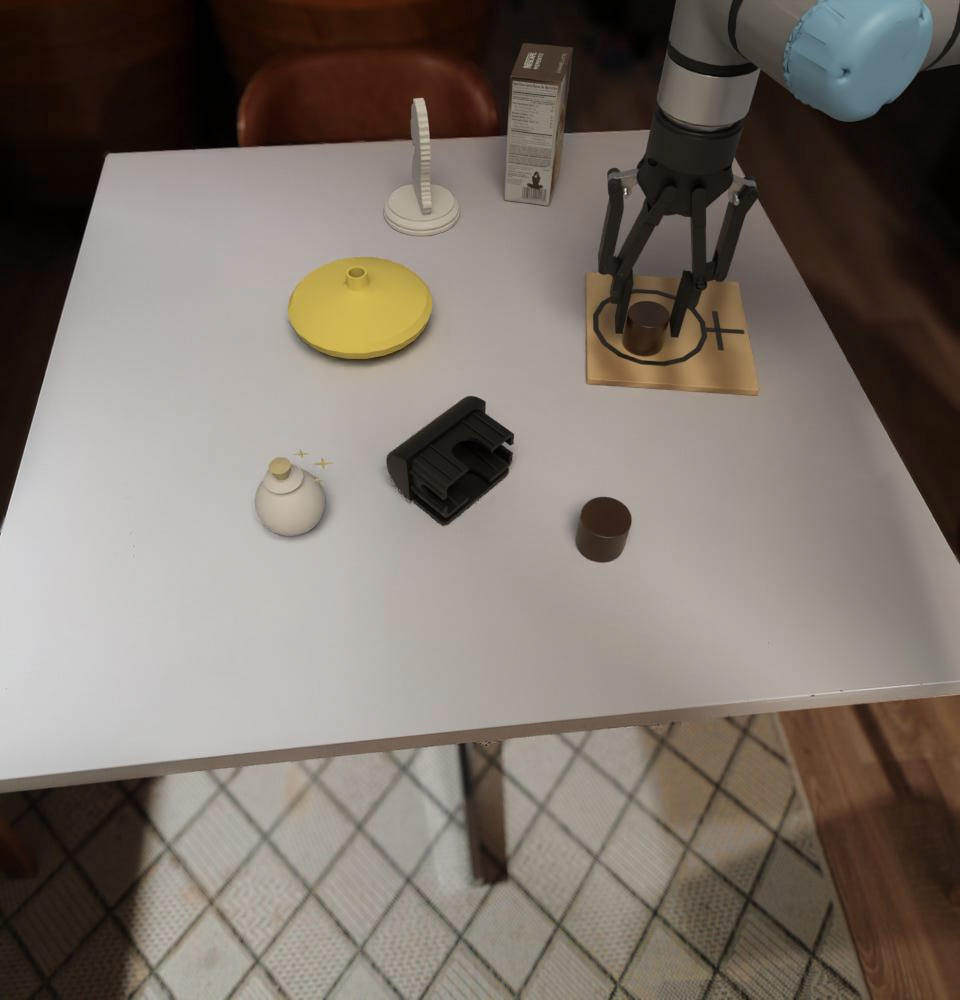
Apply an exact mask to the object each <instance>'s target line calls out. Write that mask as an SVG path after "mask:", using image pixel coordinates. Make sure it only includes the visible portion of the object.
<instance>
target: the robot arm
mask: <svg viewBox="0 0 960 1000" xmlns="http://www.w3.org/2000/svg"><path fill="white" fill-rule="evenodd" d="M665 52H666V53H665V57H664V61H663V67H662V70H661V74H660V75H661V76H660V80H659V84H658V90H657V94H656V101H657V104H656V105H655V106H654V109H653V114H652V118H651V123H650V129H649V134H648V137H647V143H646V148H645V153H644V155H643V157H642V158H641V159H640V160H639V162H638V163H637V165H636V167H635V168H632V169H628V170H624V171H621V170H620V169H619V168H617V167H612V168H610V169H608V170H607V173H606V181H607V184H606V185H607V193H608V201H607V205H606V212H605V216H604V222H603V226H602V231H601V232H602V233H601V236H600V242H599V247H598V252H597V269H598V272H597V273H600V274H602V275H606V274H610V275H611V276H612V282H611V287H610V301H611V304H617V308H616V313H615V334H623V330H624V325H625V321H626V316H627V312H628V307H629V303H630V298H631V294H632V289H633V285H634V282H633V275H634V271H633V270H634V269H633V268H634V266H635V265H636V264H637V261H638V259H639V258H640V255H641V254H642V252H643V250H644V248H645V247H646V245H647V244H648V241H649V239H650V237H651V236H652V234H653V232H654V230H655V228H657V227H658V226H659V225H660V223H661V221H662V220H663V218H664V216H665V217H669V216H675V215H678V216H681V217H684V218H689V221H690V251H691V254H690V255H691V270H688V269H683V270H682V274H681V277H680V278H681V280H680V284H679V287H678V291H677V294H676V298H675V302H674V305H673V309H672V312H671V316H670V319H669V323H670V332H671V337H675V338H678V337H679V333H680V330H681V327H682V323H683V320H684V317H685V313H686V310H687V308H689V309H695V308H696V306H697V305H698V302H699V299H700V296H701V293H702V291H703V290H705V289H706V288H707V282H708V281H712V280H715V281H717V282H722V281H726V279H727V277H728V274H729V271H730V267H731V264H732V261H733V259H734V255H735V251H736V249H737V246H738V241H739V239H740V234H741V232H742V229H743V225H744V222H745V219H746V215H747V214H748V212H749V211H750V210H751V208H752V207H753V205H754V204H755V203H756V202H757V200H758V198H759V190H758V188H757V183H756V180H755V177H754V176H753V175H746V176H744V177H741V176H739V175H736V174H734V173H733V163H734V160H735V157H736V153H737V151H738V150H737V149H738V148H739V147H738V146H739V143H740V141H741V138H742V137H741V136H742V135H743V131H744V126H745V117H746V116H747V114H748V113H749V111H750V107H751V103H752V101H753V97H754V94H755V91H756V86H757V83H758V80H759V77H760V73H761V71H762V72H764V73H765V74H766V75H767V76H768V77H770V78H771V79H772V80H774V81H775V82H776V83H778V84H779V85H781V86H782V87H783V88H785V89H786V90H787V91H789V92H790V93H791V94H792V95H793V97H794V98H795V99H796V100H799V101H800V102H801V103H802V104H804V105H808V106H810V107H811V108H813V109H816V110H818V111H821V112H822V113H824V114H826V115H827V116H829V117H831V118H832V119H834V120H837V121H841V122H846V123H847V122H850V123H852V122H858V121H863V120H866V119H868V118H871V117H873V116H874V115H876V114H877V113H878V112H879V110H880V109H881V108H882V106H883V105H886V104H892V103H893V102H894V101H895V100H896V99H897V98H898V97H900V96H901V95H902V93H904V91H905V90H906V89H907V88H908V86H909V85H910V84H911V83H912V81H913V80H914V79H915V77H916V76H917V74H920V73H922V72H925V71H929V70H934V69H939V68H944V67H949V66H955V65H956V66H957V65H960V0H675V5H674V9H673V15H672V20H671V24H670V30H669V36H668V42H667V47H666V51H665ZM636 185H638V186H639V187H640V189H641V191H642V193H643V194H644V195H643V196H645V198H644V200H643V203H642V207H641V209H640V211H639V213H638V215H637V217H636V219H635V221H634V222H633V225H632V226H631V229H630V231H629V233H628V234H627V237H626V238H625V240H624V242H623V244H622V246H621V248H620V250H619V252H618V254H617V255H616V254H615V252H616V247H617V242H618V239H619V232H620V229H621V223H622V220H623V216H624V215H623V214H624V208H625V200H627V199H628V198H629V197H630V196H631V194H632V192H633V188H634V187H635V186H636ZM725 192H727V198H728V203H727V204H726V205H727V206H726V209H725V213H724V215H723V216H724V217H723V220H722V224H721V227H720V230H719V234H718V238H717V241H716V245H715V247H714V252H713V255H712V259H711V261H707V208H708V207H710V206H711V205H712V204H713V203H714V202H715V201H716V200H718V199H719V198H720V197H721V196H722V195H723V194H724V193H725Z"/></svg>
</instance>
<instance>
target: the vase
mask: <svg viewBox="0 0 960 1000" xmlns="http://www.w3.org/2000/svg"><path fill="white" fill-rule="evenodd" d="M286 311H287V315H288V320H289V323H290V325H291V326H292V327H293V328H294V330H295V332H296V333H297V335H298V336H299V337H300V339H301V340H302V341H303V342H305V343H306V344H307V345H308V346H310V347H311V348H312V349H314V350H316V351H318V352H321V353H323V354H325V355H328V356H331V357H336V358H341V359H345V360H346V359H347V360H351V359H352V360H353V359H355V360H356V359H359V360H364V359H365V360H366V359H373V358H377V357H383V356H387V355H389V354H392V353H394V352H397V351H399V350H402V349H404V348H405V347H406V346H408V345H410V344H411V343H412V342H414V341H416V340H417V338H418V337H419V336H420V335H421V333H422V332H423V331H424V330H425V328H426V326H427V324H428V323H429V320H430V316H431V314H432V311H433V296H432V293H431V291H430V288H429V285H428V284H426V282H425V281H424V280H423V279H422V278H421V277H420V275H418V274H417V273H416V272H414V271H413V270H411V268H408V267H407V266H405V265H404V264H401V263H399V262H396V261H394V260H391V259H387V258H380V257H375V256H354V257H353V256H352V257H347V258H341V259H337V260H334V261H331V262H327V263H325V264H322V265H320V266H319V267H316V268H315V269H313V270H312V271H310V272H309V273H307V275H305V277H304V278H302V279H301V280H300V281H299V282H298V283H297V285H296V287H295V288H294V290H293V291H292V293H291V295H290V296H289V298H288V303H287V309H286Z"/></svg>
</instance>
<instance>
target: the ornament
mask: <svg viewBox="0 0 960 1000" xmlns="http://www.w3.org/2000/svg"><path fill="white" fill-rule="evenodd" d="M292 455H294V456H300V457H301V459H302V460H304V456H305V455H310V453H309V452H303V451H302V449H301V448H299V452H297V453H293V454H292ZM331 464H333V462H331V461H324V458H323V457H322V456H321V457H320V462H315V463H312V465H313V466H315V465H316V466H321V467H322V469H323V470H325V468H326V465H331ZM321 481H324V479H323V478H319V476H317V477H316V476H314V475H313V474H312V473H310V472H309V471H307V470H306V469H302V468H300V467H299V466H298V465H297V464H294V463H291V461H290V459H288V458H287V457H284V456H279V457H275V458H273V459H272V460H270V462H269V463H268V470H266V472H265V474H264V476H263V479H262V480H261V481H260V483H259V484H258V486H257V488H256V491H255V495H254V508H255V512H256V515H257V517H258V519H259V521H260V522H261V523H262V524H263V525H264V526H265V527H266V528H267V529H268V530H270V531H271V532H273V533H275V534H277V535H280V536H285V537H286V536H287V537H292V536H293V537H295V536H299V535H303V534H305V533H307V532H309V531H310V530H312V529H313V528H314V527H316V525H318V523H319V522H320V521H321V519H322V517H323V515H324V512H325V508H326V493H325V490H324V488H323V486H322V484H321Z"/></svg>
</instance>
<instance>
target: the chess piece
mask: <svg viewBox="0 0 960 1000" xmlns="http://www.w3.org/2000/svg"><path fill="white" fill-rule="evenodd" d="M412 102H413V103H412V104H411V106H410V107H411V108H410V110H411V112H410V113H411V114H410V115H411V119H409V122H410V136H411V139H412V140H411V141H412V146H413V147H414V149H413V150H414V151H413V155H412V161H411V181H412V183H409V184H405V185H402V186H400V187H398V188H396V189H395V190H394V191H393V192H392V193H391V194H390V195H389V196H388V197H387V198H386V200H385V202H384V206H383V218H384V220H385V222H386V224H387V225H388V226H389V227H391V228H392V229H393V230H394V231H397V232H399V233H401V234H404V235H408V236H415V237H428V236H429V237H430V236H434V235H438V234H441V233H444V232H446V231H448V230H450V229H452V227H454V226H455V225H456V224H457V223H458V221H459V219H460V216H461V208H460V204H459V201H458V199H457V198H456V197H455V196H454V195H453V194H452V193H451V191H449V190H448V189H447V188H445V187H443V186H441V185H438V184H435V183H431V160H432V159H431V140H430V139H431V138H430V125H429V118H428V117H429V116H428V110H427V106H426V101H425V99H424V97H418V98H417V97H416V98H413V99H412Z"/></svg>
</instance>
